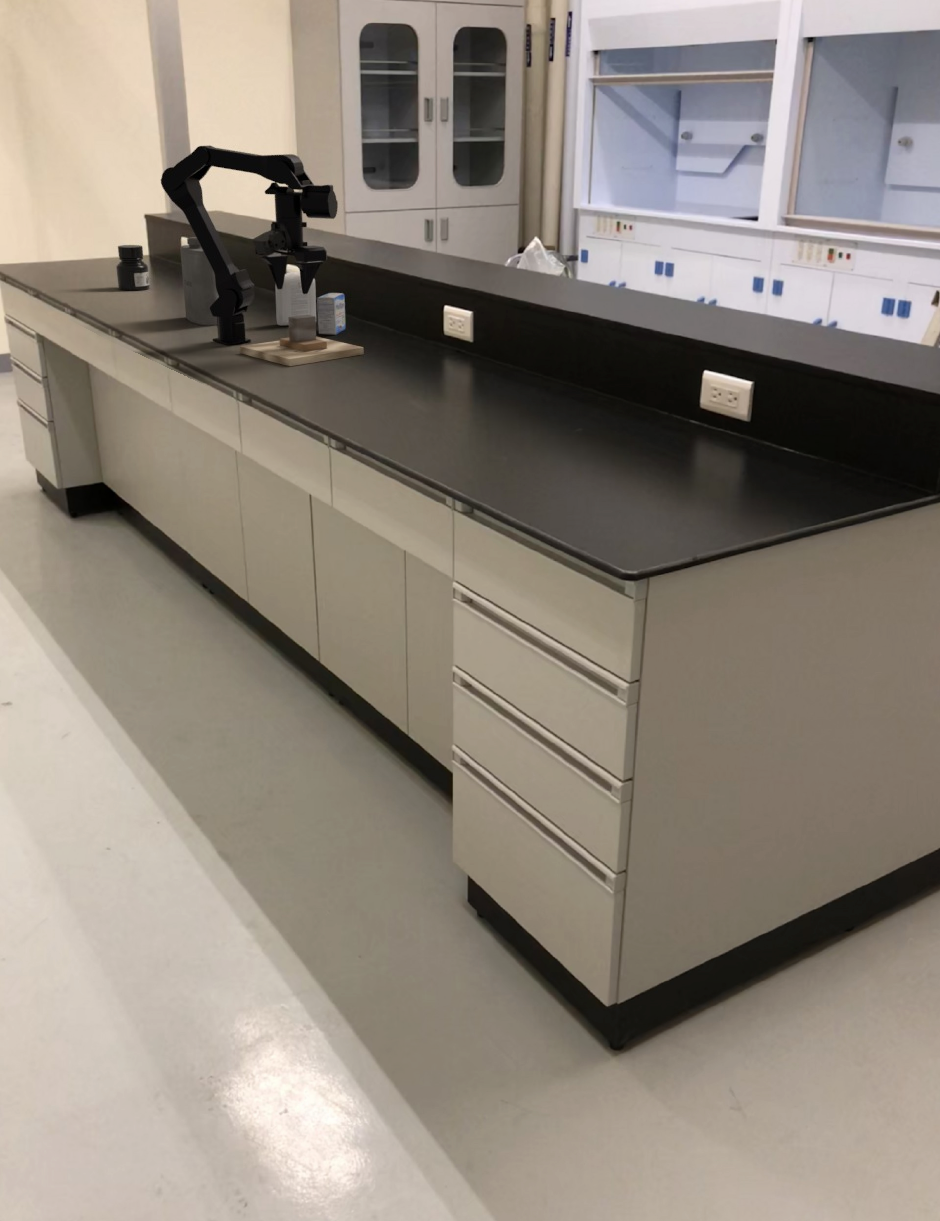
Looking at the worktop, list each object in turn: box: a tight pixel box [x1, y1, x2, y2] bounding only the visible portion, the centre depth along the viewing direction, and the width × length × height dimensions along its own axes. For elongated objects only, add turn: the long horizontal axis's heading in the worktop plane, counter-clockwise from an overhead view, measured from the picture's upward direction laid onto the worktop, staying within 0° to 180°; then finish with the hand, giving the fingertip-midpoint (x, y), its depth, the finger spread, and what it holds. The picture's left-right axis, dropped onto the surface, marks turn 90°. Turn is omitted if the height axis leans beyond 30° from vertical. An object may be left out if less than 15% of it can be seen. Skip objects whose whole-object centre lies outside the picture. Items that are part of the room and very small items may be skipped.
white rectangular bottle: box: [274, 272, 317, 326], centre depth 275 cm, size 10×4×12 cm, turn 123°
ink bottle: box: [115, 244, 151, 291], centre depth 324 cm, size 10×9×12 cm
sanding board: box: [239, 336, 365, 367], centre depth 243 cm, size 18×20×2 cm
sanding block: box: [278, 315, 327, 352], centre depth 242 cm, size 9×6×6 cm, turn 45°
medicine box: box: [316, 292, 346, 336], centre depth 267 cm, size 8×4×9 cm, turn 168°
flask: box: [179, 236, 219, 327], centre depth 275 cm, size 15×6×20 cm, turn 32°
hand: (292, 291), depth 247 cm, fingers open, 9 cm apart
